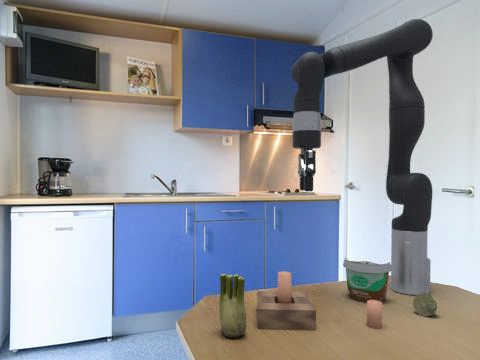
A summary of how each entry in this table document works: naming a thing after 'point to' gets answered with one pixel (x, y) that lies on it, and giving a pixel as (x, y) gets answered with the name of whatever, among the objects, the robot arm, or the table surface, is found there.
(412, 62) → the robot arm
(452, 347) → the table surface
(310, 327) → the walnut block
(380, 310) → the short dowel
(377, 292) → the food container
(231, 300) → the fennel bulb
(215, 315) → the table surface
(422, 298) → the lime
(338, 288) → the table surface
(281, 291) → the long dowel
